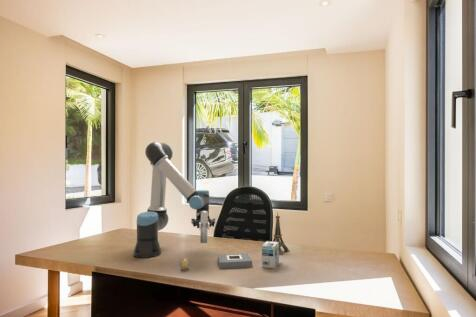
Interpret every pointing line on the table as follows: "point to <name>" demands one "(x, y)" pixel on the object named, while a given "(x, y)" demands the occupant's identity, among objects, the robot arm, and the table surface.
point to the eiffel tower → (278, 235)
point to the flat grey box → (234, 260)
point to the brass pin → (184, 264)
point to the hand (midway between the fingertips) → (204, 226)
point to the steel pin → (204, 226)
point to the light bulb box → (270, 254)
